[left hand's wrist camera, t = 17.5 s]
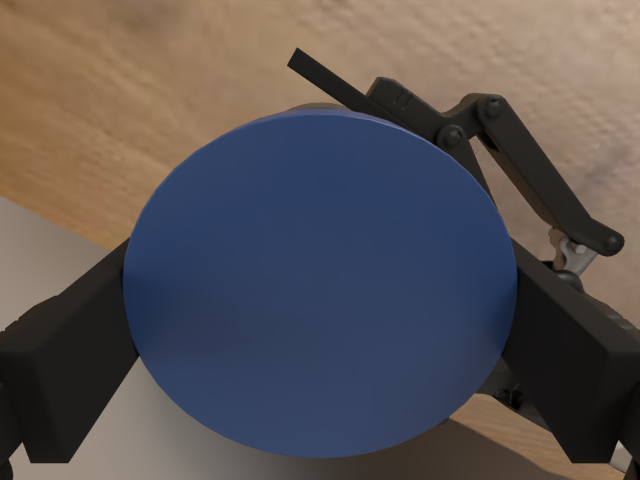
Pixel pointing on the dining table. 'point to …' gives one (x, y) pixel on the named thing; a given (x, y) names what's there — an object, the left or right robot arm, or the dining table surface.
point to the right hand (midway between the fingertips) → (236, 159)
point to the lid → (320, 284)
